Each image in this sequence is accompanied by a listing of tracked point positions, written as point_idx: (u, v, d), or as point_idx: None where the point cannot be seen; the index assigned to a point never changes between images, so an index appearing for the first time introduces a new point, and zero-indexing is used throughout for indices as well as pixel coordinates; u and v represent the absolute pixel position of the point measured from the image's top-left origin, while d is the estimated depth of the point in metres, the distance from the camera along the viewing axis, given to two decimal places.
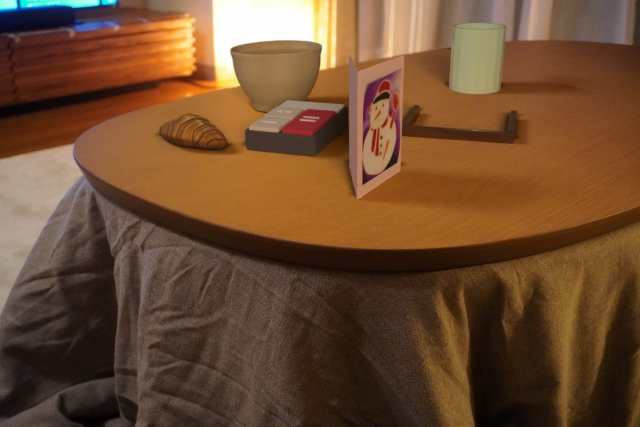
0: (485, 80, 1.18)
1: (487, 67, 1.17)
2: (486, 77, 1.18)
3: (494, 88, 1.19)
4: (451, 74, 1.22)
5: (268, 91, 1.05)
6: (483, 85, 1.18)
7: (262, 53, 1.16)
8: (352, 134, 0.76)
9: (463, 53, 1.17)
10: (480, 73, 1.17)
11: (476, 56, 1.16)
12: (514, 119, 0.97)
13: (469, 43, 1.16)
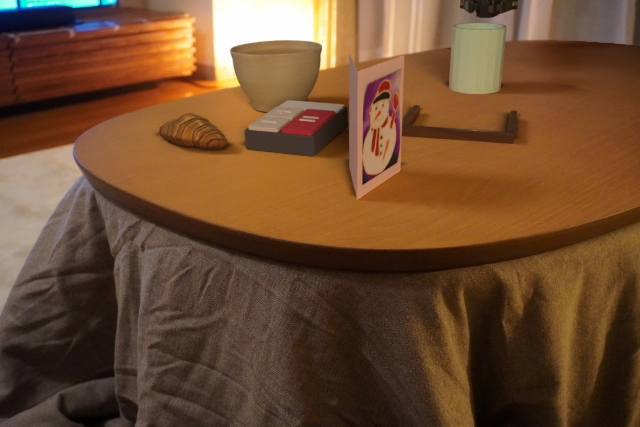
0: (485, 80, 1.18)
1: (487, 67, 1.17)
2: (486, 77, 1.18)
3: (494, 88, 1.19)
4: (451, 74, 1.22)
5: (268, 91, 1.05)
6: (483, 85, 1.18)
7: (262, 53, 1.16)
8: (352, 134, 0.76)
9: (463, 53, 1.17)
10: (480, 73, 1.17)
11: (476, 56, 1.16)
12: (514, 119, 0.97)
13: (469, 43, 1.16)
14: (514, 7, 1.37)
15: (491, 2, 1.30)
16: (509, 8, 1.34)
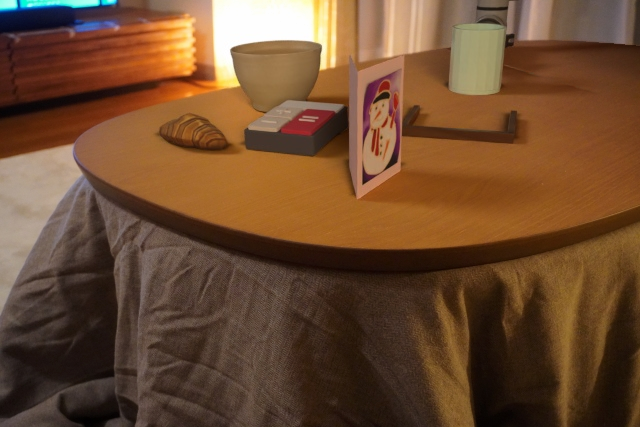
0: (485, 81, 1.17)
1: (487, 68, 1.16)
2: (486, 78, 1.17)
3: (494, 89, 1.19)
4: (451, 75, 1.21)
5: (268, 91, 1.05)
6: (483, 86, 1.18)
7: (262, 53, 1.16)
8: (352, 134, 0.76)
9: (463, 54, 1.16)
10: (481, 74, 1.17)
11: (477, 57, 1.15)
12: (514, 119, 0.97)
13: (469, 44, 1.15)
14: (510, 44, 1.36)
15: None
16: (505, 45, 1.34)
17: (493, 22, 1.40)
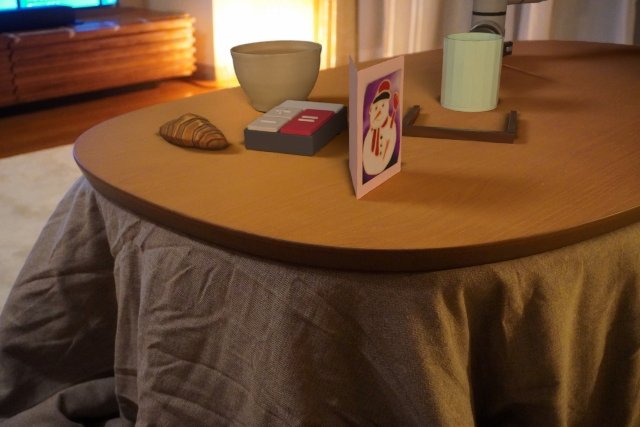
0: (482, 97, 1.06)
1: (483, 82, 1.05)
2: (483, 93, 1.06)
3: (491, 105, 1.08)
4: (443, 90, 1.09)
5: (268, 91, 1.05)
6: (480, 102, 1.07)
7: (262, 53, 1.16)
8: (352, 134, 0.76)
9: (457, 67, 1.05)
10: (477, 89, 1.06)
11: (472, 70, 1.04)
12: (514, 119, 0.97)
13: (464, 56, 1.04)
14: (508, 53, 1.25)
15: None
16: (502, 55, 1.23)
17: (490, 29, 1.29)
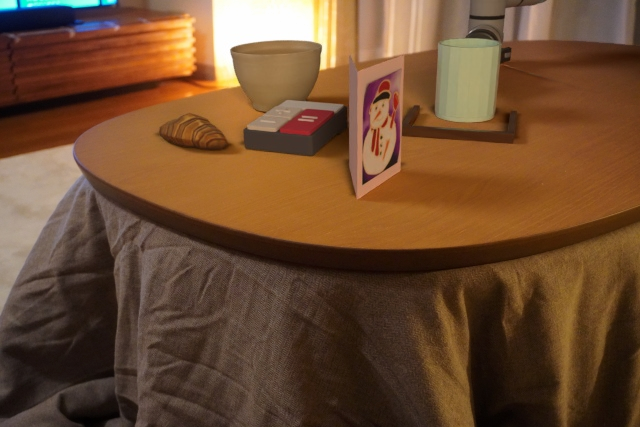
0: (478, 106, 1.00)
1: (480, 92, 0.99)
2: (479, 103, 1.00)
3: (488, 115, 1.02)
4: (437, 99, 1.04)
5: (268, 91, 1.05)
6: (476, 112, 1.01)
7: (262, 53, 1.16)
8: (352, 134, 0.76)
9: (452, 75, 0.99)
10: (473, 99, 1.00)
11: (468, 79, 0.98)
12: (514, 119, 0.97)
13: (459, 63, 0.98)
14: (506, 59, 1.19)
15: None
16: (501, 61, 1.17)
17: (487, 34, 1.23)
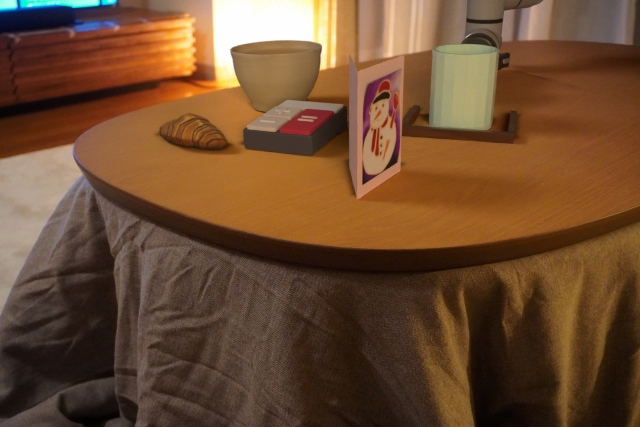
0: (475, 116, 0.95)
1: (476, 101, 0.94)
2: (476, 112, 0.95)
3: (485, 125, 0.97)
4: (432, 108, 0.98)
5: (268, 91, 1.05)
6: (472, 122, 0.95)
7: (262, 53, 1.16)
8: (352, 134, 0.76)
9: (447, 83, 0.94)
10: (469, 108, 0.94)
11: (464, 87, 0.93)
12: (514, 119, 0.97)
13: (454, 71, 0.93)
14: (505, 65, 1.14)
15: None
16: (499, 67, 1.12)
17: (485, 38, 1.18)
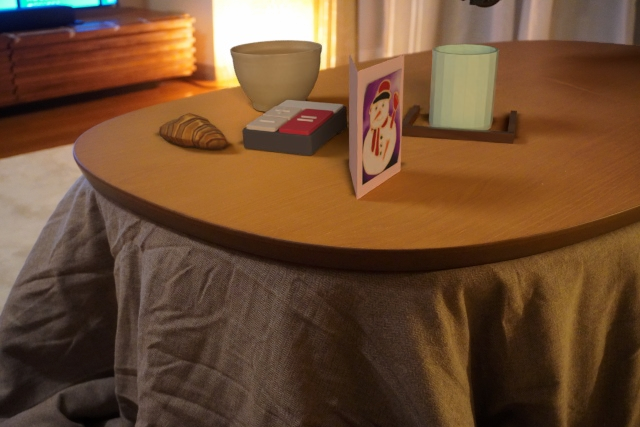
0: (475, 117, 0.95)
1: (476, 101, 0.94)
2: (476, 113, 0.95)
3: (485, 125, 0.97)
4: (432, 108, 0.98)
5: (268, 91, 1.05)
6: (472, 122, 0.95)
7: (262, 53, 1.16)
8: (352, 134, 0.76)
9: (447, 83, 0.94)
10: (469, 108, 0.94)
11: (464, 87, 0.93)
12: (514, 119, 0.97)
13: (454, 71, 0.93)
14: None
15: None
16: None
17: None
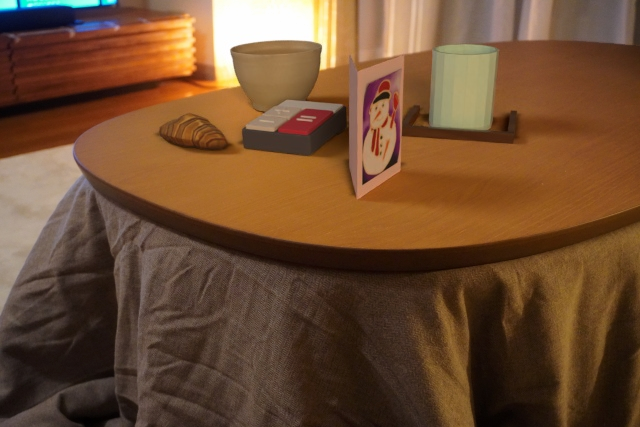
0: (475, 117, 0.95)
1: (476, 101, 0.94)
2: (476, 113, 0.95)
3: (485, 125, 0.97)
4: (432, 108, 0.98)
5: (268, 91, 1.05)
6: (472, 122, 0.95)
7: (262, 53, 1.16)
8: (352, 134, 0.76)
9: (447, 83, 0.94)
10: (469, 108, 0.94)
11: (464, 87, 0.93)
12: (514, 119, 0.97)
13: (454, 71, 0.93)
14: None
15: None
16: None
17: None
